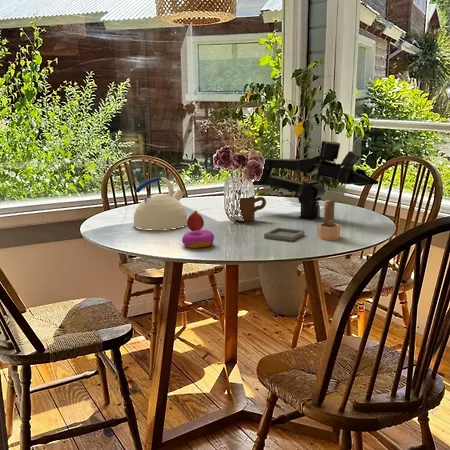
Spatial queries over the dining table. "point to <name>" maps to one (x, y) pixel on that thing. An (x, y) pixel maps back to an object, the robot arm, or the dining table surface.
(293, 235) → the grey tray
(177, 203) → the kettle
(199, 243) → the donut
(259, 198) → the mug
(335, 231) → the terracotta cup
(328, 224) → the walnut dowel
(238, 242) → the dining table surface
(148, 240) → the dining table surface
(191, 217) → the onion
